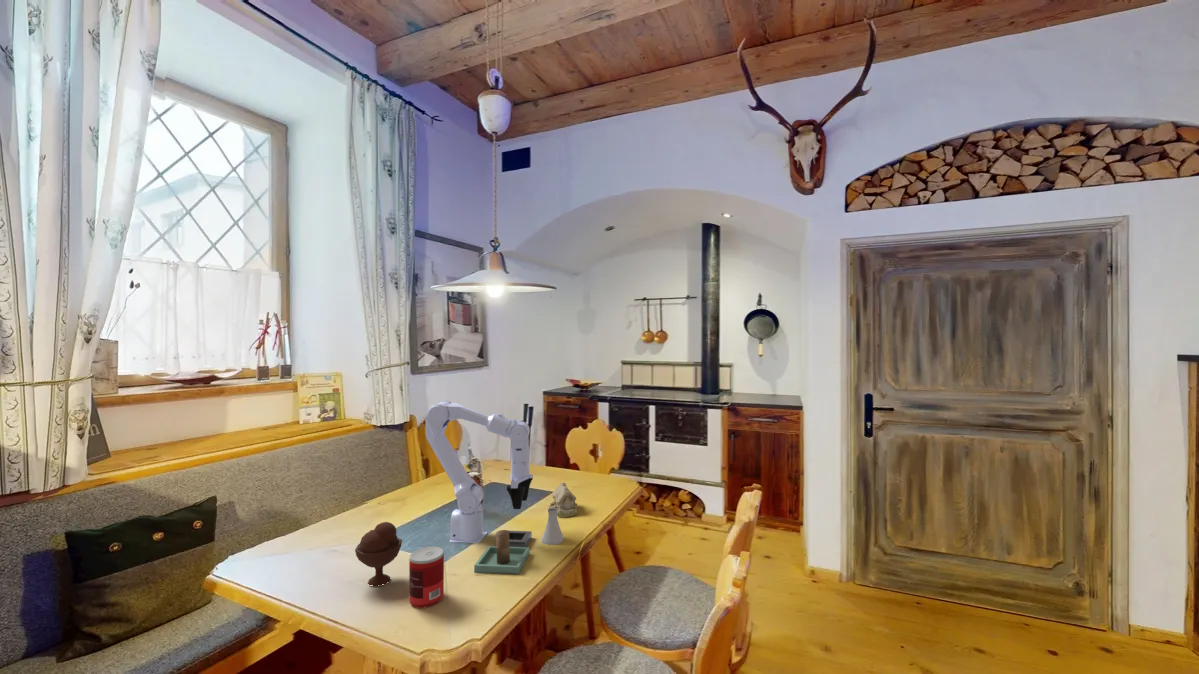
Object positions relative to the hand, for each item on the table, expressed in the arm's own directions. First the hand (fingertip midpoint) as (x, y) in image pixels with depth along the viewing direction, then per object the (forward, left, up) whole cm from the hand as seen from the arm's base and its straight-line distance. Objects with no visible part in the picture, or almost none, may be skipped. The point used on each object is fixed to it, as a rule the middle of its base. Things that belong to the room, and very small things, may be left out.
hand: (520, 504), depth 150 cm
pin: (0, -18, -10) cm, 20 cm away
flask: (+11, -2, -11) cm, 15 cm away
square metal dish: (0, -5, -10) cm, 12 cm away
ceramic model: (+10, +25, -11) cm, 29 cm away
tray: (0, -18, -10) cm, 21 cm away
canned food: (-13, -37, -11) cm, 41 cm away
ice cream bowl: (-29, -30, -11) cm, 43 cm away
